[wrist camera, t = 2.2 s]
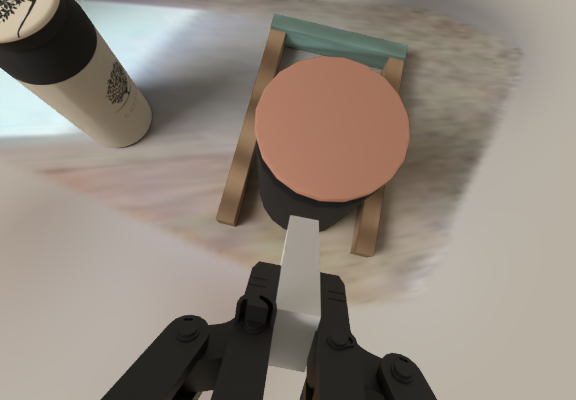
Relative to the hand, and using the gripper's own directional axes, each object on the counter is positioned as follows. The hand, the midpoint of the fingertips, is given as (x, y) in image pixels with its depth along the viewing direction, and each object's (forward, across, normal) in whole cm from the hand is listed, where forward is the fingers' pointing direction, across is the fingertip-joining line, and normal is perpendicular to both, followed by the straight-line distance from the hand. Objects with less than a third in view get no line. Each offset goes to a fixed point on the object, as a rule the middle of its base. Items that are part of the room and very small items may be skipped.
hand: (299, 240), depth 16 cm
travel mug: (+24, -24, -2) cm, 34 cm away
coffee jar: (+21, +1, -6) cm, 22 cm away
